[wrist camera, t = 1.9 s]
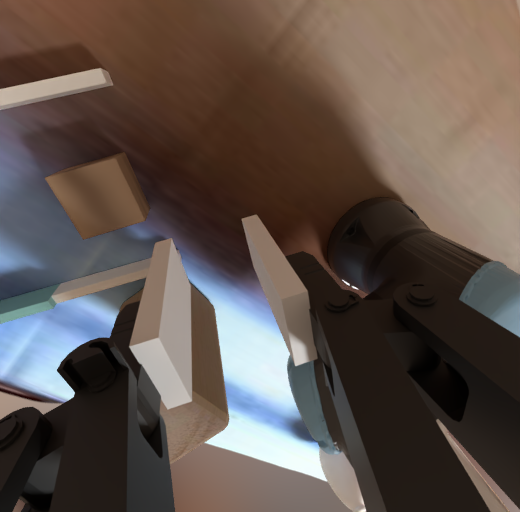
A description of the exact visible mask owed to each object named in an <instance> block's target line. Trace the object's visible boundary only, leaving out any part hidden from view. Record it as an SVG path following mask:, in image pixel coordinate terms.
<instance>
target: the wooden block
mask: <svg viewBox="0 0 520 512" xmlns="http://www.w3.org/2000/svg"><path fill="white" fill-rule="evenodd" d="M190 285H191V352H192V401H191V402H188V403H185V404H183V405H180V406H177V407H174V408H171V409H167V408H166V406H165V405H164V403H163V401H162V400H161V403H160V414H161V416H162V417H163V419H164V422H165V425H166V433H167V442H168V452H169V461H170V464H172V463H173V462H175V461H176V460H178V459H179V458H181V457H183V456H184V455H186V454H187V453H189V452H190V451H192V450H193V449H195V448H196V447H198V446H199V445H201V444H203V443H204V442H206V441H207V440H209V439H210V438H212V437H213V436H215V435H216V434H218V433H219V432H221V431H223V430H224V429H225V428H226V427H227V425H228V422H229V414H228V406H227V399H226V391H225V384H224V376H223V369H222V361H221V354H220V346H219V339H218V331H217V324H216V316H215V309H214V306H213V305H212V304H211V303H210V302H209V301H208V300H207V299H206V298H205V297H204V296H203V295H202V294H201V293H200V292H199V291H198V290H197V289H196V288H195V287H194V286H193V285H192V284H190ZM143 290H144V288H143V289H142V290H140V291H139V292H138V293H136V294H135V295H133V296H132V297H131V298H129V299H128V300H127V301H125V302H124V303H123V304H122V306H121V308H120V311H119V313H120V312H121V310H122V309H123V308H124V307H125V306H126V305H127V304H130V303H134V302H137V301H140V300H141V298H142V294H143Z"/></svg>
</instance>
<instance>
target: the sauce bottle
mask: <svg viewBox="0 0 520 512" xmlns="http://www.w3.org/2000/svg"><path fill="white" fill-rule="evenodd" d="M319 455H320V462H321V466H322V469H323V472H324V474H325V477H326V479H327V481H328V483H329V484H330V486H331V488H332V489H333V491H334V492H335V494H336V495H337V496H338V497H339V499H340V500H341V501H342V502H343V503H344V504H345V505H346V506H347V507H348V508H349V509H351V510H352V511H353V512H365V511H366V508H365V506H364V501H363V498H362V495H361V491H360V488H359V485H358V481H357V478H356V475H355V471H354V469H353V467H352V466H351V464H350V463H349V461H348V459H347V458H346V456H345V454H344V453H343V452H341V453H340V454H338V455H336V454H333V455H329V454H327V453H325V452H324V451H323V450H322V449H321V448H319Z"/></svg>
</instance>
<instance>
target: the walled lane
mask: <svg viewBox="0 0 520 512" xmlns="http://www.w3.org/2000/svg"><path fill="white" fill-rule="evenodd" d="M108 86H113V82H112V80H111V77H110V75H109V72H108V71H106V70H104V69H102V68H98V69H93V70H88V71H84V72H79V73H74V74H70V75H65V76H60V77H55V78H51V79H46V80H41V81H37V82H32V83H27V84H22V85H18V86H13V87H8V88H4V89H0V110H3V109H8V108H12V107H17V106H22V105H26V104H31V103H35V102H40V101H44V100H49V99H53V98H58V97H63V96H67V95H72V94H76V93H81V92H85V91H90V90H95V89H99V88H104V87H108ZM177 253H178V255H179V258H180V260H181V258H182V257H181V255H180V252H179V250H177ZM150 262H151V258H148V259H145V260H141V261H138V262H134V263H131V264H127V265H124V266H120V267H117V268H113V269H110V270H106V271H103V272H99V273H96V274H92V275H88V276H85V277H81V278H78V279H74V280H71V281H67V282H64V283H60V284H57V285H53V286H50V287H46V288H43V289H39V290H36V291H32V292H28V293H25V294H21V295H18V296H14V297H11V298H7V299H4V300H0V324H1V323H5V322H8V321H12V320H15V319H18V318H22V317H25V316H29V315H32V314H36V313H39V312H42V311H46V310H49V309H53V308H54V307H55V305H56V304H57V303H60V302H64V301H67V300H71V299H74V298H77V297H81V296H84V295H88V294H91V293H95V292H98V291H102V290H105V289H108V288H112V287H115V286H119V285H122V284H126V283H129V282H133V281H136V280H140V279H143V278H146V277H147V274H148V270H149V266H150Z"/></svg>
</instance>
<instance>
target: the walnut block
mask: <svg viewBox="0 0 520 512" xmlns="http://www.w3.org/2000/svg"><path fill="white" fill-rule="evenodd" d="M45 179H46V181H47V182H48V184H49V186H50V187H51V189H52V190H53V192H54V194H55V195H56V197H57V198H58V200H59V202H60V203H61V205H62V207H63V208H64V210H65V211H66V213H67V215H68V216H69V218H70V219H71V221H72V223H73V224H74V226H75V227H76V229H77V231H78V232H79V234H80V235H81V237H82V239H83V240H84V239H87V238H91V237H94V236H97V235H100V234H104V233H107V232H110V231H114V230H117V229H120V228H123V227H127V226H130V225H133V224H136V223H140V222H143V221H145V220H146V218H147V215H148V213H149V210H150V206H149V204H148V202H147V200H146V197H145V195H144V193H143V191H142V189H141V187H140V184H139V182H138V180H137V178H136V176H135V173H134V171H133V169H132V167H131V165H130V163H129V160H128V158H127V156H126V154H125V152H122V153H119V154H115V155H112V156H108V157H105V158H101V159H98V160H94V161H91V162H87V163H84V164H80V165H77V166H73V167H70V168H66V169H63V170H61V171H59V172H56V173H54V174H52V175H50V176H48V177H46V178H45Z"/></svg>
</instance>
